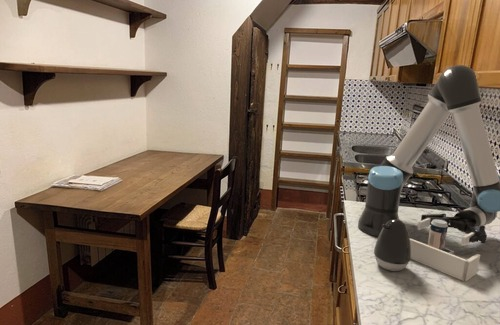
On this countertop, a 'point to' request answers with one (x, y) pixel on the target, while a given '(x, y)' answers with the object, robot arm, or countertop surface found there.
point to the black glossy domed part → (393, 246)
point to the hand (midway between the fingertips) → (440, 233)
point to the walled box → (444, 260)
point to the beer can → (437, 234)
